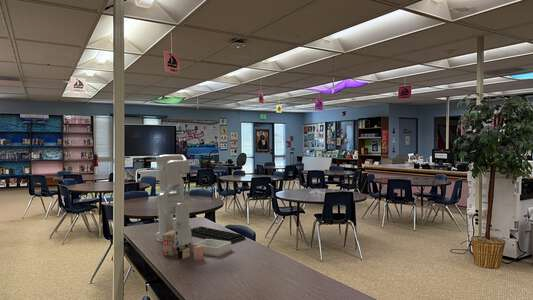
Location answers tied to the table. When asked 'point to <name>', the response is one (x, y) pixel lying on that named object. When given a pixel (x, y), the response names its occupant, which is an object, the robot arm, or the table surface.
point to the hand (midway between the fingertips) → (183, 255)
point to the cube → (185, 252)
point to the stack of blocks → (169, 243)
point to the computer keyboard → (216, 234)
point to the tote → (213, 247)
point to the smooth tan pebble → (198, 253)
